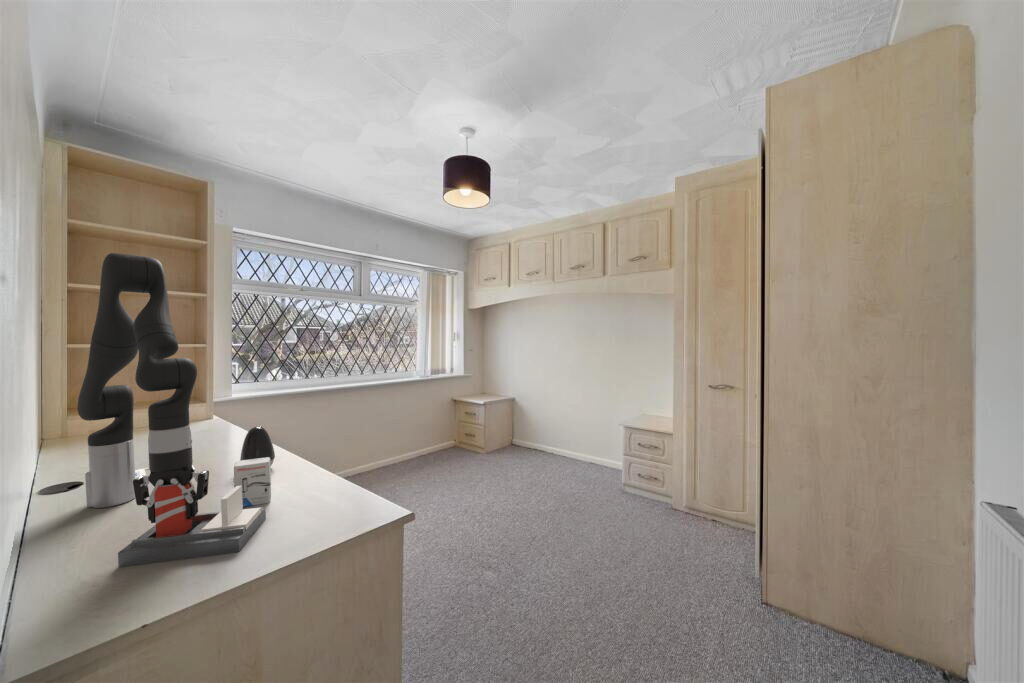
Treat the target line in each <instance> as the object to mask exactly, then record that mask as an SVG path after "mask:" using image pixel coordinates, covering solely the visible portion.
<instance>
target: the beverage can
mask: <svg viewBox="0 0 1024 683" xmlns="http://www.w3.org/2000/svg"><path fill="white" fill-rule="evenodd" d="M184 487H185V489H189V488H190V485H189V484H187V485H186V486H184ZM154 499H155V520H156V523H155V525H156V537H161V536H169V535H178V534H184V533H186V532H187V531H188V530H189V529H191V519H187V505H186V504H187V503H188V502H187V500H186V499H185V498H184V495H182V490H181V489H180V487H178V486H177V485H176V484H172V485H163V486H162V485H158V488H157V489H156V491H155V493H154Z"/></svg>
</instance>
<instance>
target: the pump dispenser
mask: <svg viewBox="0 0 1024 683" xmlns="http://www.w3.org/2000/svg"><path fill="white" fill-rule="evenodd" d="M275 453H276V452H275V448H274V445H273V442H272V438H271V437H270V435H269V433H268V431H267V430H266V429H265V428H264V427H263V426H262V425H260V426H253V427H252V428H250V429H249V431H247V433H246V434H245V437H244V440H243V443H242V447H241V452H240V458H239V461H242V460H250V459H258V458H266V457H269V458H270V467H272V465H273V463H274V460H275V458H276V454H275Z"/></svg>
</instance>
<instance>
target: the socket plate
mask: <svg viewBox="0 0 1024 683" xmlns="http://www.w3.org/2000/svg"><path fill="white" fill-rule="evenodd" d="M259 508H261V513H260V514H259V515H258V517H257V518H256V519H255V520H254V521H253V522H252V524H251V525H250V526H249V527H248V528H247V529H246V530H245V527H239V528H230V529H222V530H213V531H204V532H201V529H202V528H203V527H205V526H206V525H207V524H208V523H209V522H210V521H211V520H212V519H213V518H214V517H215V516H216V515H218V514H219V513H220V512H221V511H215V512H214V511H213V512H205V513H197V514H196V515H195V517H193V518H192V519H191V529H189V530H188V531H187V532H186V533H184V534H178V535H169V536H161V537H156V524H155V525H153V526H152V527H151V528H149V529H148V530H146V531H145V532H144V533H142V534H141V535H140V536H139V537H137V538H136V539H133V540H131V542H130V543H129V544H128V545H126V546H125V547H124V548H122V549H121V550H119V551H118V552H117V560H118V561H117V563H118V568H122V567H131V566H139V565H148V564H155V563H163V562H170V561H179V560H185V559H193V558H194V559H195V558H202V557H209V556H210V557H211V556H219V555H224V554H225V555H226V554H234V553H240V552H241V550H242V549H243V548H244V547H245V545H247V543H248V541H250V539H251V538H252V537H253V535H255V533H256V532H257V530H259V528H260V527H261V526H262V524H263V523H264V522H265V520H266V519H267V513H266V510H267V509H266V507H265V506H264V507H263V506H262V507H261V506H260V507H259Z"/></svg>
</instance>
